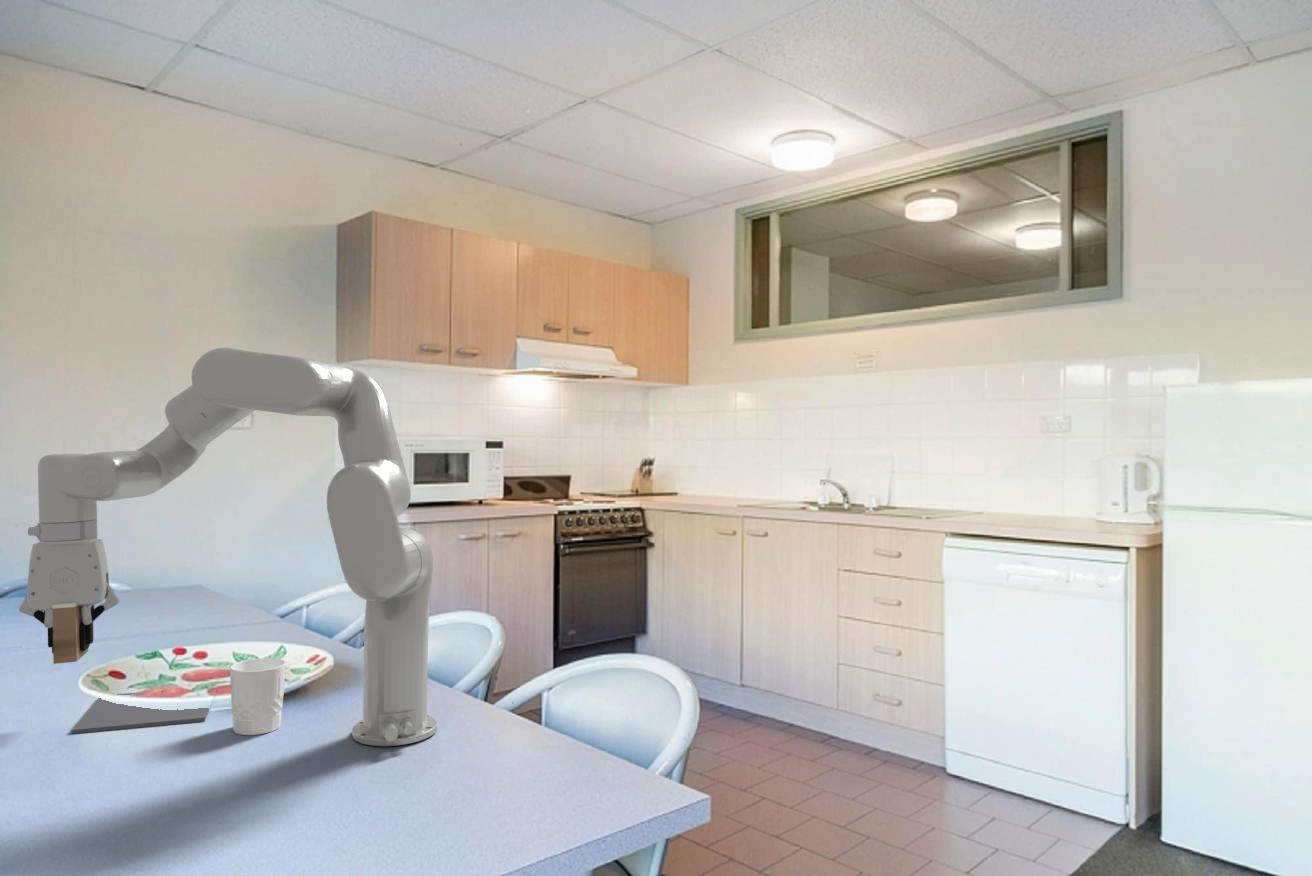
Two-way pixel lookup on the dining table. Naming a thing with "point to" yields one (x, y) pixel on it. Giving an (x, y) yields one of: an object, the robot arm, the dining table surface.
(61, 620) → the slab
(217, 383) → the robot arm
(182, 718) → the mat
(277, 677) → the white cup
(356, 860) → the dining table surface
